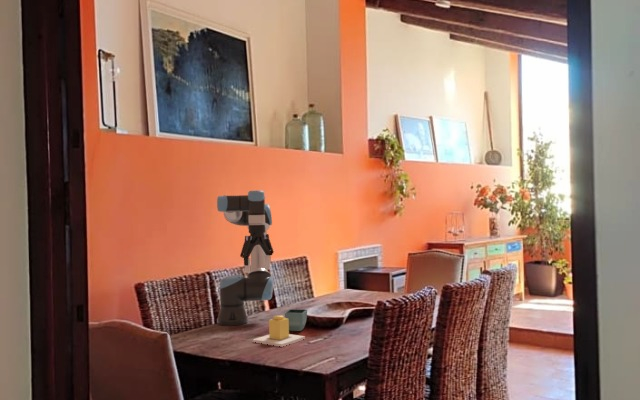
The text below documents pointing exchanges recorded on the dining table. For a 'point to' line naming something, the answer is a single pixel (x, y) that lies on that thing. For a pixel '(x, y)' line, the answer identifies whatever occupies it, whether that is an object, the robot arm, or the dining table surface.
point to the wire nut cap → (279, 327)
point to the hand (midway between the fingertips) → (257, 271)
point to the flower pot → (296, 319)
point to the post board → (280, 343)
